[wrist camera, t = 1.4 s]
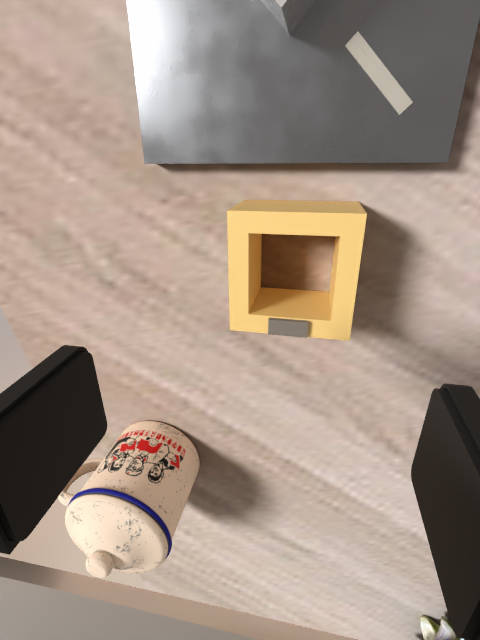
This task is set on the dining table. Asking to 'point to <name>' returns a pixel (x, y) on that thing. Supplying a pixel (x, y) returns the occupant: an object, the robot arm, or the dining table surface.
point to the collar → (289, 304)
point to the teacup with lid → (132, 499)
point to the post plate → (300, 79)
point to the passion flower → (437, 629)
